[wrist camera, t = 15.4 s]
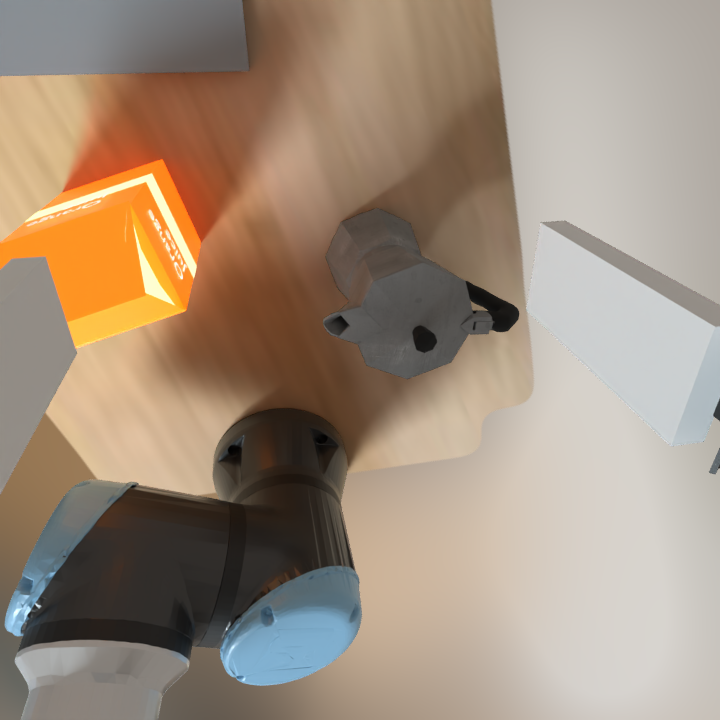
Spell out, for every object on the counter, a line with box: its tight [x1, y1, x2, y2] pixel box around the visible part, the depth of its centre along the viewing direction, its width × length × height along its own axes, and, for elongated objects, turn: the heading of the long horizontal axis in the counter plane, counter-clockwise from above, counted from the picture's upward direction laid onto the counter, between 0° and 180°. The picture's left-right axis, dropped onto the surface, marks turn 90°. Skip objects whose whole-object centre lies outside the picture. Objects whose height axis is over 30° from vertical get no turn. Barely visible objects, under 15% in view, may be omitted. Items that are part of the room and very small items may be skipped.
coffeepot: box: [323, 208, 519, 379], centre depth 44 cm, size 15×9×18 cm, turn 85°
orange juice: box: [0, 159, 201, 348], centre depth 37 cm, size 8×9×20 cm
